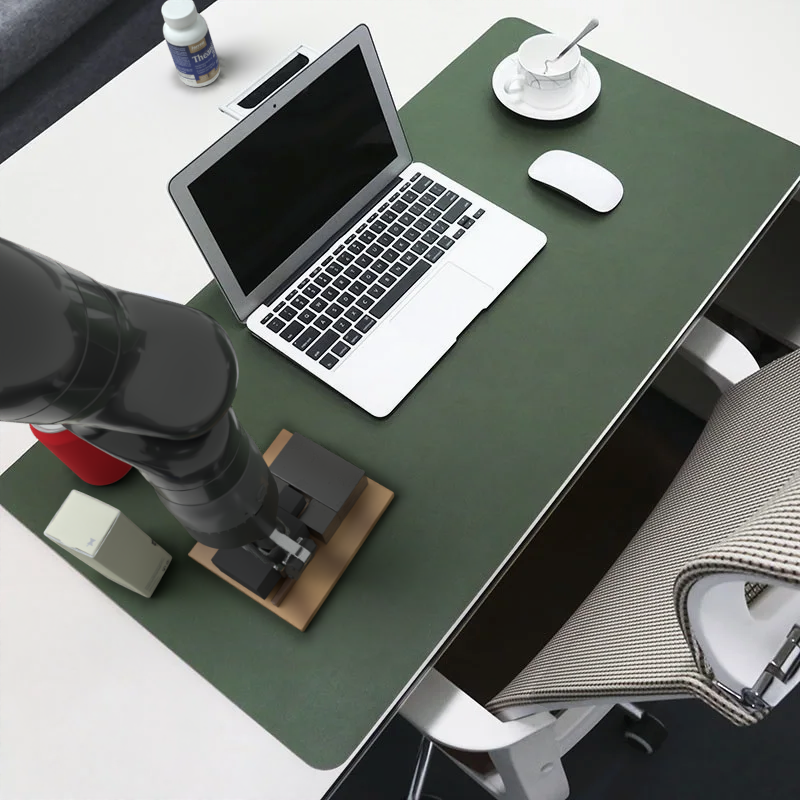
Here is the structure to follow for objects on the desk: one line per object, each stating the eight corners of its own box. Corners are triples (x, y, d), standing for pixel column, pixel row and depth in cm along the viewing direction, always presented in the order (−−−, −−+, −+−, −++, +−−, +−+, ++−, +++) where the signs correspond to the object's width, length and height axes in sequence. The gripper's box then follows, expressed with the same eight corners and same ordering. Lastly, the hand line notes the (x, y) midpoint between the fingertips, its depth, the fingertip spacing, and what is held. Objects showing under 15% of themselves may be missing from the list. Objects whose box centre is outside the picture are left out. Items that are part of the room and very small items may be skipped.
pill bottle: (207, 93, 105) (184, 27, 97) (171, 82, 107) (146, 16, 98) (229, 65, 108) (209, -2, 99) (194, 54, 109) (171, -13, 100)
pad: (264, 600, 73) (256, 590, 70) (220, 571, 75) (210, 560, 72) (323, 517, 77) (317, 503, 73) (279, 490, 78) (272, 476, 75)
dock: (303, 632, 74) (295, 622, 70) (190, 557, 78) (177, 544, 74) (394, 496, 79) (391, 480, 76) (284, 432, 83) (277, 414, 79)
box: (174, 557, 78) (125, 510, 66) (149, 600, 76) (94, 560, 65) (128, 535, 79) (71, 486, 68) (102, 577, 77) (40, 534, 66)
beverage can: (118, 419, 85) (69, 360, 74) (151, 461, 82) (105, 406, 72) (65, 456, 83) (7, 402, 73) (96, 501, 81) (41, 451, 70)
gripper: (106, 474, 60) (177, 545, 76) (263, 577, 56) (305, 630, 71) (172, 395, 63) (227, 479, 78) (327, 487, 59) (353, 557, 74)
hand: (264, 551), depth 75 cm, fingers closed on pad, 5 cm apart
